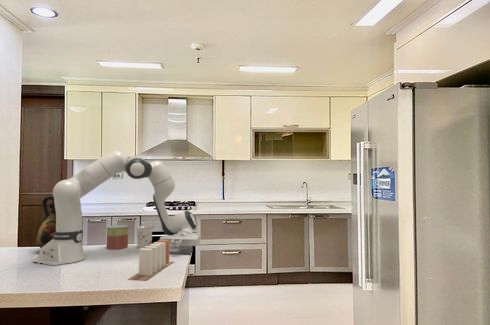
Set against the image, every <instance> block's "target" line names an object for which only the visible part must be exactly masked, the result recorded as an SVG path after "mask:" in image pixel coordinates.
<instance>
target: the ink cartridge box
mask: <svg viewBox="0 0 490 325" xmlns="http://www.w3.org/2000/svg"><path fill="white" fill-rule="evenodd" d="M152 223H153V222H152V220H147V221H144V223H143V225H141V226H137V227H136V241H137V242H136V245H137V246H136V248H137V249H141V248H142V249H144V247H146V246H149V245H150V244H153V225H152Z"/></svg>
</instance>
